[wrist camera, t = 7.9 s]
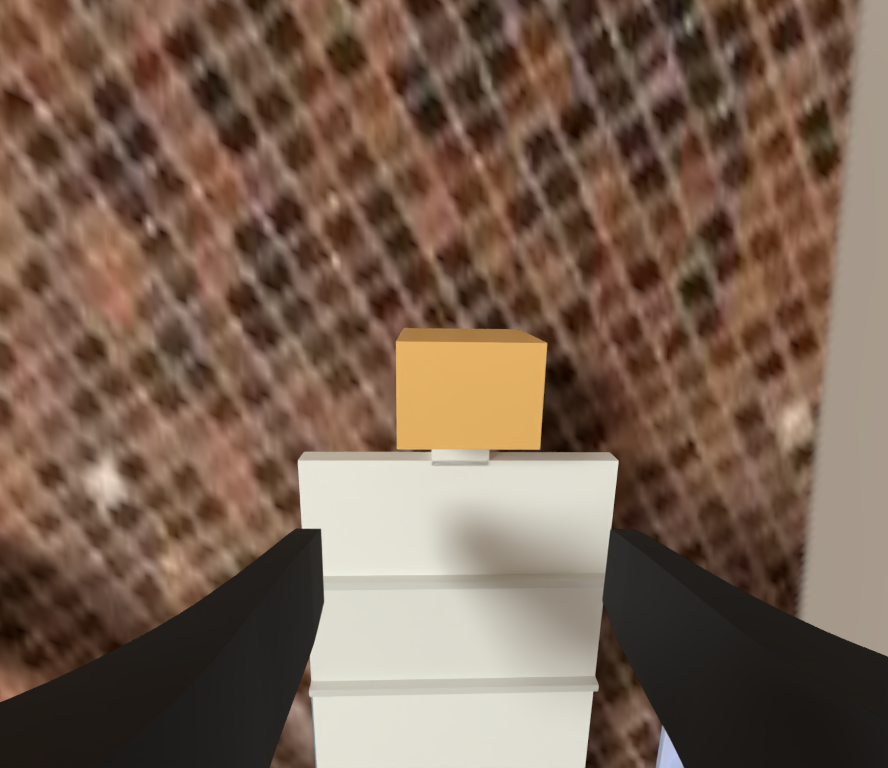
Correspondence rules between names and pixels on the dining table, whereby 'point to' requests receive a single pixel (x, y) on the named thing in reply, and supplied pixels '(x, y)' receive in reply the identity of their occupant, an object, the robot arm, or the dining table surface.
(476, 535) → the lid
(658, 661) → the robot arm
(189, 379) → the dining table surface
